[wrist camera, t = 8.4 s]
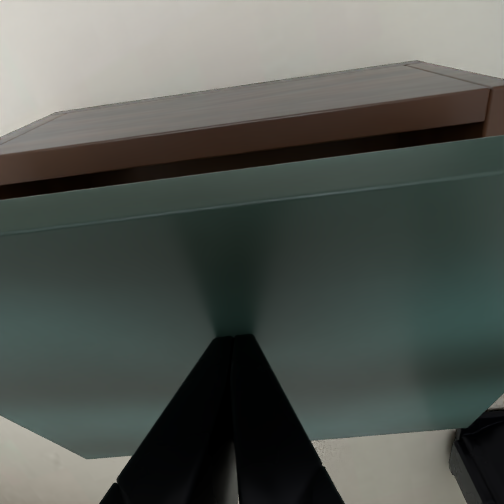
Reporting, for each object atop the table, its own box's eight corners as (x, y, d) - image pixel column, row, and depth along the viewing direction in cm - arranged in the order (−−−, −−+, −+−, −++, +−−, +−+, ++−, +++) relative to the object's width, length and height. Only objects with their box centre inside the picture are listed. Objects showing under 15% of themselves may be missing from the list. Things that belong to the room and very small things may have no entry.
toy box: (55, 112, 16) (-60, 162, 10) (418, 59, 15) (526, 82, 9) (135, 326, 22) (92, 438, 16) (399, 298, 21) (458, 406, 15)
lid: (-249, 230, 6) (-291, 269, 6) (720, 105, 5) (773, 138, 5) (90, 437, 16) (86, 459, 15) (459, 405, 15) (468, 427, 14)
